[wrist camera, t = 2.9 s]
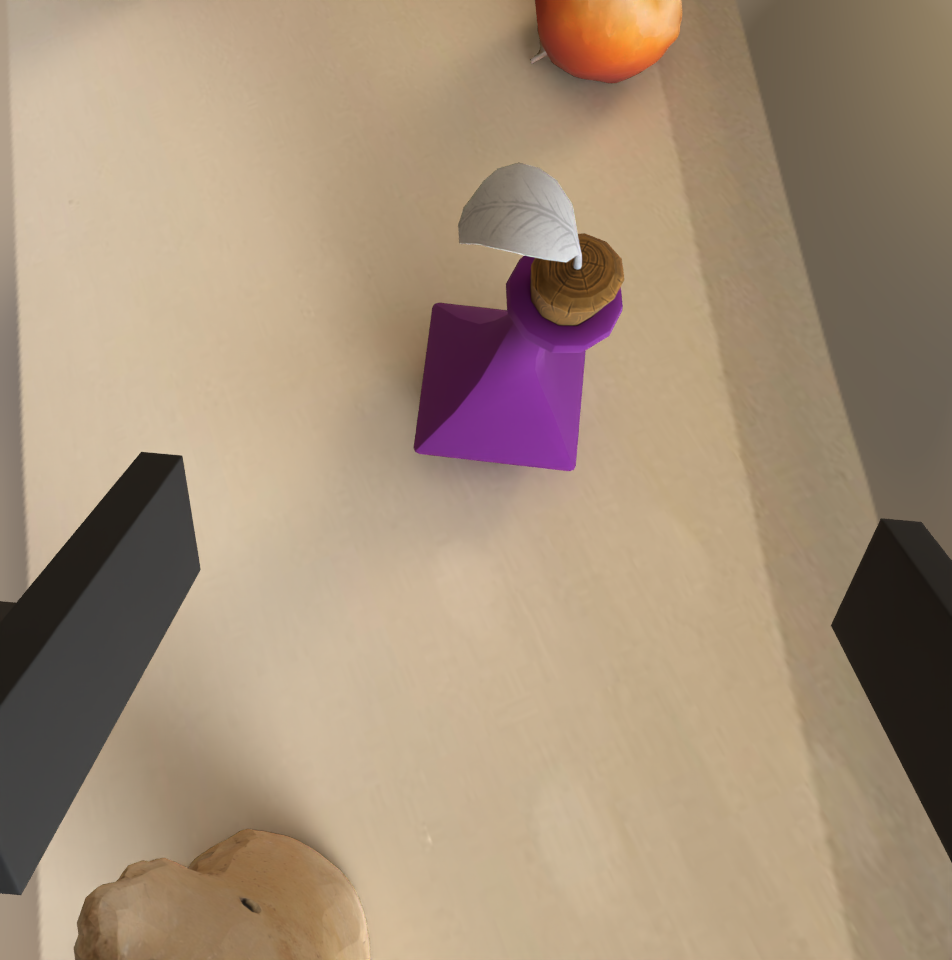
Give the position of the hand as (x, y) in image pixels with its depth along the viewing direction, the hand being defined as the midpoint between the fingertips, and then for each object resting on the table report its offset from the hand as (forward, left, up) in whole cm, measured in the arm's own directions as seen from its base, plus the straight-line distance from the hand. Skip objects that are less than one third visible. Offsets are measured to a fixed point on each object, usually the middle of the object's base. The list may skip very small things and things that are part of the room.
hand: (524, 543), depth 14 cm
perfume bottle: (-1, +10, -22) cm, 24 cm away
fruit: (+1, +32, -22) cm, 39 cm away
